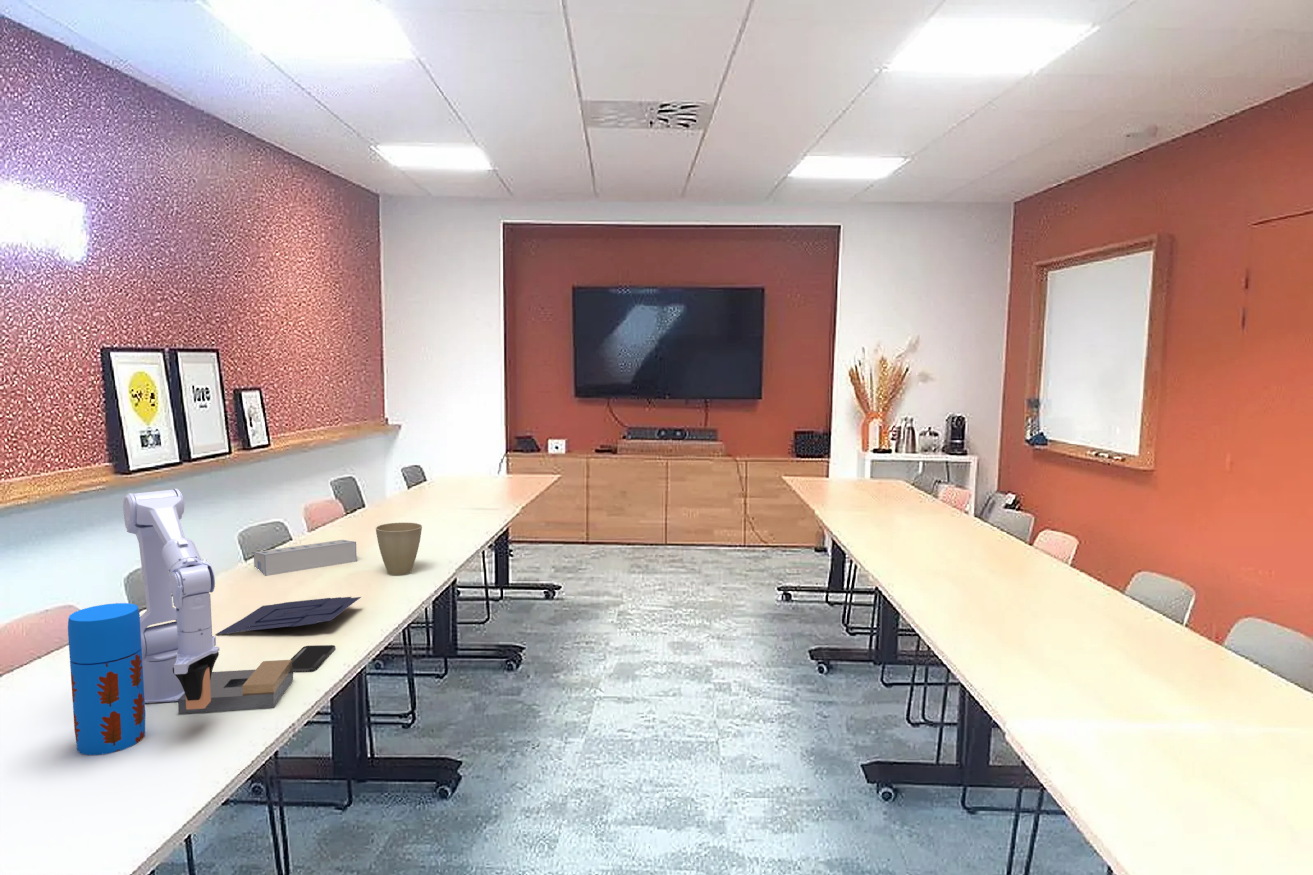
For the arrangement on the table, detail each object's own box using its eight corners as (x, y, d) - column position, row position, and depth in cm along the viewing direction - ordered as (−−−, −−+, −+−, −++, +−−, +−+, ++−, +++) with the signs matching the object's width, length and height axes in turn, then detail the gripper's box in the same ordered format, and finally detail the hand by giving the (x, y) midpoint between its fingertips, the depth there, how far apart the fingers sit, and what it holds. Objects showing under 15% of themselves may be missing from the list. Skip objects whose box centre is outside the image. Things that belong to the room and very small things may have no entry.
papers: (329, 633, 198) (327, 619, 198) (215, 645, 199) (213, 631, 199) (365, 604, 223) (363, 591, 222) (264, 614, 223) (262, 602, 223)
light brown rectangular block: (186, 709, 147) (184, 674, 146) (193, 702, 150) (191, 667, 149) (204, 708, 148) (202, 673, 147) (210, 701, 151) (209, 666, 150)
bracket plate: (178, 714, 155) (177, 690, 154) (206, 685, 169) (205, 663, 168) (273, 707, 158) (273, 684, 158) (293, 680, 172) (292, 658, 171)
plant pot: (410, 579, 251) (409, 532, 250) (368, 577, 254) (366, 530, 252) (430, 568, 266) (429, 523, 264) (390, 565, 268) (389, 521, 267)
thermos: (159, 727, 149) (152, 602, 147) (122, 755, 139) (114, 621, 136) (102, 727, 149) (94, 602, 146) (61, 755, 138) (52, 621, 136)
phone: (279, 669, 176) (304, 645, 191) (279, 674, 176) (304, 649, 191) (314, 669, 176) (337, 645, 191) (315, 673, 177) (337, 649, 191)
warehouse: (343, 554, 285) (342, 534, 284) (356, 562, 274) (356, 541, 273) (254, 568, 265) (253, 546, 264) (265, 577, 254) (264, 554, 253)
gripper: (202, 639, 141) (205, 710, 142) (230, 614, 155) (233, 678, 156) (160, 642, 140) (163, 713, 141) (192, 615, 154) (196, 680, 155)
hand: (197, 695), depth 149 cm, fingers closed on light brown rectangular block, 3 cm apart
